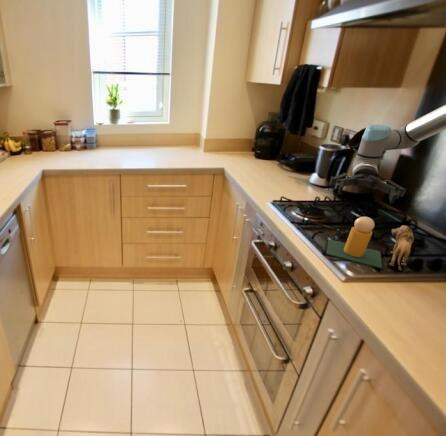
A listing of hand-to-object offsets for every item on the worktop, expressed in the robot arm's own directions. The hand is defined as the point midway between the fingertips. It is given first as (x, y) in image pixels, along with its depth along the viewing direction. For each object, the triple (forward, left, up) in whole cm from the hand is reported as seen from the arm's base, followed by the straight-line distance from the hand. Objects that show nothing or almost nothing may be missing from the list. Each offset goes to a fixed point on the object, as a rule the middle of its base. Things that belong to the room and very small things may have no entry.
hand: (366, 195), depth 99 cm
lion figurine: (-12, +5, -17) cm, 21 cm away
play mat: (-1, +10, -17) cm, 19 cm away
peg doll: (-1, +10, -16) cm, 18 cm away
